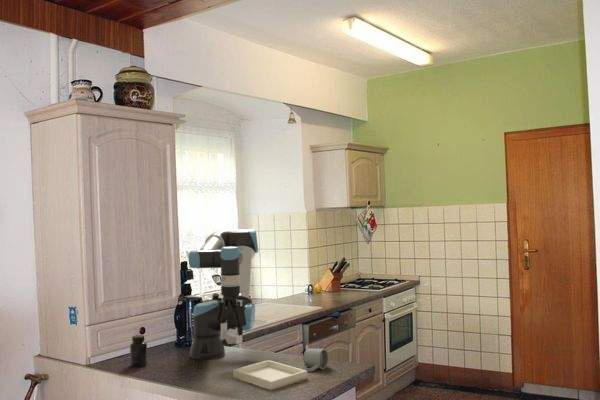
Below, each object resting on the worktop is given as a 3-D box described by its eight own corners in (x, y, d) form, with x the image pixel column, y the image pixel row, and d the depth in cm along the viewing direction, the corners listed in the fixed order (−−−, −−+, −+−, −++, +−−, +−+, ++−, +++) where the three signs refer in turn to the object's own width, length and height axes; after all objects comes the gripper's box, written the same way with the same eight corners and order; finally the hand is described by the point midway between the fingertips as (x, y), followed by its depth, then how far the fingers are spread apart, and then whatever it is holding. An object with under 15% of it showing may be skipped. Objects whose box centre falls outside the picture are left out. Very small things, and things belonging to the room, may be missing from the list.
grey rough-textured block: (235, 352, 222) (238, 340, 221) (220, 347, 223) (222, 335, 221) (242, 339, 232) (244, 327, 230) (227, 334, 232) (229, 322, 231)
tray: (233, 377, 213) (233, 369, 213) (268, 367, 226) (268, 360, 226) (271, 390, 197) (271, 381, 197) (307, 378, 210) (307, 370, 210)
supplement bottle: (139, 361, 237) (138, 333, 238) (150, 364, 234) (150, 335, 234) (126, 366, 232) (126, 336, 232) (138, 368, 228) (138, 338, 228)
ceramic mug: (311, 363, 230) (310, 345, 230) (328, 366, 226) (328, 347, 226) (298, 371, 221) (297, 351, 221) (316, 373, 217) (316, 353, 217)
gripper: (207, 283, 231) (208, 338, 231) (239, 289, 215) (241, 347, 215) (221, 281, 236) (222, 335, 236) (255, 286, 220) (256, 343, 221)
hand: (231, 341), depth 226 cm, fingers closed on grey rough-textured block, 9 cm apart
